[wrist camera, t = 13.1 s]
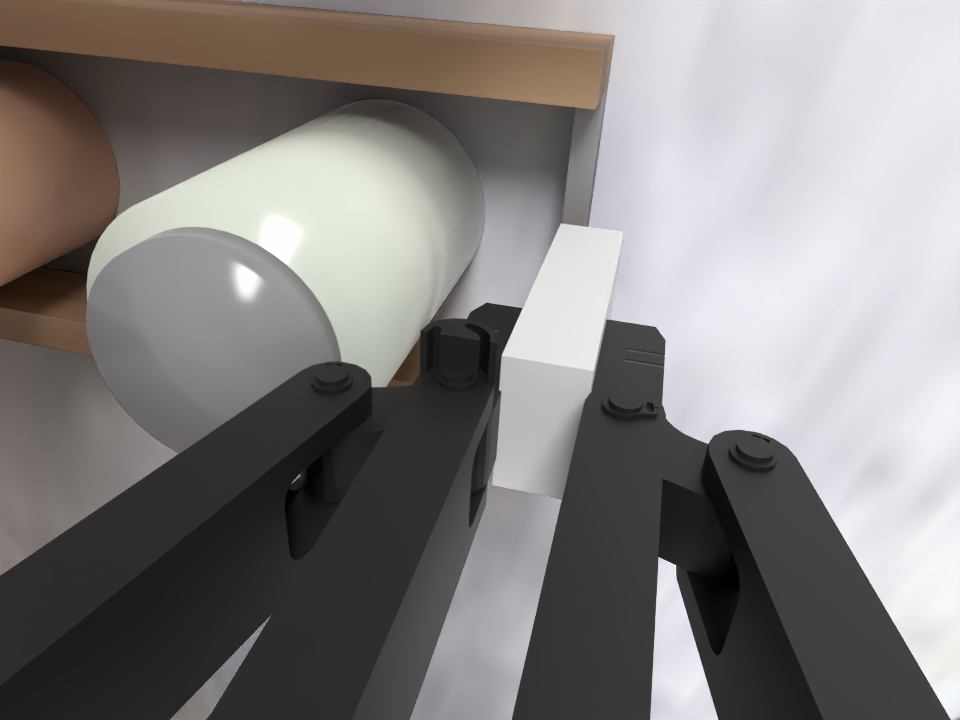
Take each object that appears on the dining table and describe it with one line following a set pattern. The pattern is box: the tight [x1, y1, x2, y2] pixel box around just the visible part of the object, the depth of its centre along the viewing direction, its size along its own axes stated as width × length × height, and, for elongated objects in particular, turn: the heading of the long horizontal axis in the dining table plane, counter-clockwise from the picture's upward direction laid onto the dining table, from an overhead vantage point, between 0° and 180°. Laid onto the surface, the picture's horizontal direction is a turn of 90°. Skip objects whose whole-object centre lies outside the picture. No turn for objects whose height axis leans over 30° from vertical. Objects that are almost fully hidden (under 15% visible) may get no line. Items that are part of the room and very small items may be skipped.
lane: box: [0, 0, 615, 387], centre depth 22 cm, size 10×29×3 cm, turn 86°
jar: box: [86, 99, 485, 454], centre depth 18 cm, size 6×6×10 cm
